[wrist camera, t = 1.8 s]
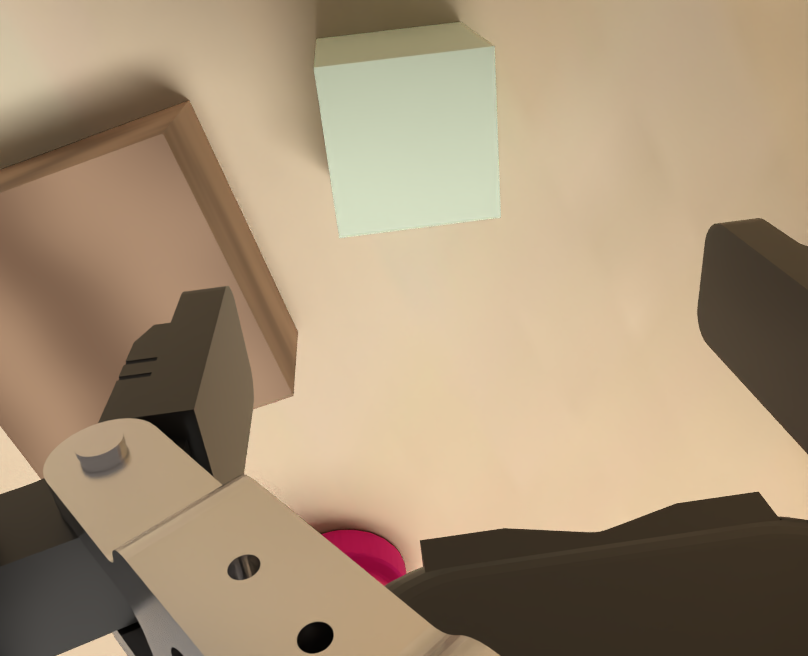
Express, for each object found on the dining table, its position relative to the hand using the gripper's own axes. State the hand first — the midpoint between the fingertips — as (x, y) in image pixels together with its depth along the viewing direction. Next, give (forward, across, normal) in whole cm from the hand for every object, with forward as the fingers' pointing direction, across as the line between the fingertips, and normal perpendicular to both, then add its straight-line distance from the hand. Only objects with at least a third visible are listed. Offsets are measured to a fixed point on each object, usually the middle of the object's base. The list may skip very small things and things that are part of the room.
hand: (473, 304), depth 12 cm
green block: (+16, 0, 0) cm, 16 cm away
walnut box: (+16, +11, +5) cm, 20 cm away
